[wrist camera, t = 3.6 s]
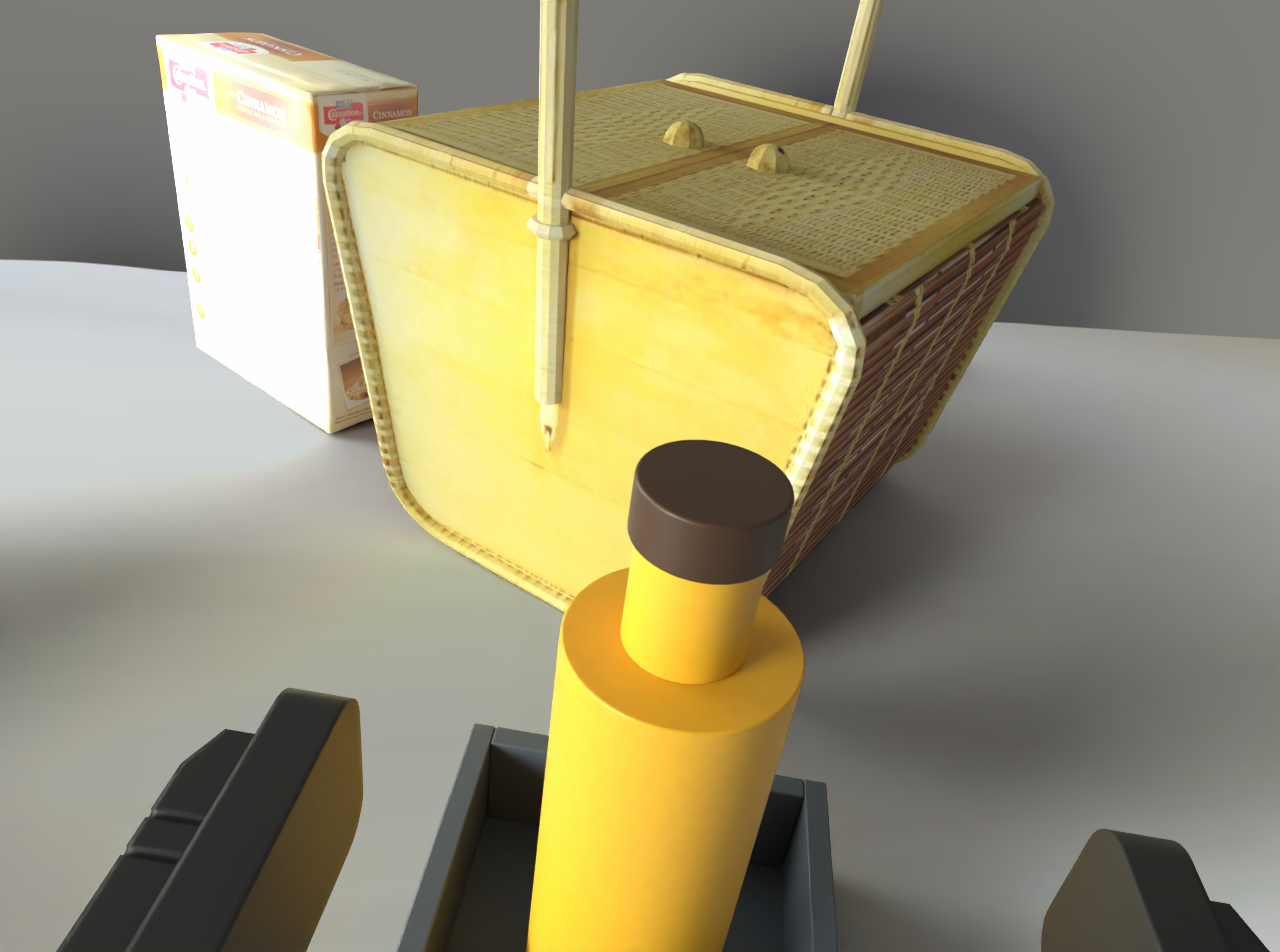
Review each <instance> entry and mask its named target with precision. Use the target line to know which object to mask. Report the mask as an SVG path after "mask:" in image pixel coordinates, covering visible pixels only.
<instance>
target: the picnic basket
mask: <svg viewBox="0 0 1280 952" xmlns="http://www.w3.org/2000/svg"><path fill="white" fill-rule="evenodd" d="M883 3H884V0H861V1H860V5H859V9H858V13H857V17H856V21H855V25H854V29H853V33H852V37H851V41H850V45H849V49H848V53H847V56H846V61H845V64H844V68H843V73H842V76H841V80H840V84H839V88H838V93H837V96H836V100H835V104H834V106H830V105H826V104H821V103H818V102H814V101H810V100H805V99H802V98H798V97H793V96H790V95H786V94H781V93H778V92H773V91H769V90H765V89H762V88H757V87H754V86H749V85H746V84H742V83H737V82H733V81H729V80H725V79H721V78H717V77H713V76H709V75H705V74H696V73H694V74H693V73H681V74H679V75H676V76H674V77H672V78H669V79H667V80H663V79H662V80H655V81H649V82H642V83H636V84H629V85H622V86H616V87H609V88H602V89H596V90H589V91H583V92H576V93H575V90H576V89H575V88H576V62H577V34H578V7H579V0H541V8H540V72H539V98H536V99H530V100H523V101H517V102H510V103H503V104H497V105H491V106H484V107H478V108H470V109H464V110H457V111H451V112H444V113H438V114H431V115H424V116H418V117H411V118H404V119H398V120H391V121H385V122H378V123H366V122H355V121H352V122H350V123H348V124H347V125H345V126H343V127H341V128H339V129H338V130H336V131H334V132H333V133H332V134H331V135H330V136H329V138H328V141H327V143H326V145H325V148H324V150H323V152H322V155H321V156H322V179H323V184H324V189H325V194H326V198H327V203H328V208H329V212H330V217H331V222H332V227H333V231H334V236H335V241H336V245H337V250H338V255H339V260H340V264H341V269H342V274H343V278H344V283H345V288H346V293H347V297H348V302H349V307H350V311H351V316H352V321H353V326H354V330H355V335H356V340H357V344H358V349H359V354H360V359H361V363H362V368H363V373H364V377H365V382H366V387H367V392H368V396H369V401H370V406H371V410H372V415H373V420H374V425H375V429H376V434H377V439H378V443H379V448H380V453H381V458H382V462H383V467H384V470H385V473H386V475H387V478H388V480H389V483H390V486H391V488H392V490H393V491H394V493H395V495H396V496H397V498H398V499H399V501H400V502H401V504H402V505H403V507H404V508H405V510H406V511H407V512H408V513H409V514H410V515H411V516H412V517H413V518H414V519H415V520H416V521H417V523H418V524H419V525H420V526H421V527H422V528H423V529H424V530H425V531H427V532H428V533H429V534H431V535H432V536H434V537H435V538H436V539H438V540H439V541H441V542H442V543H443V544H445V545H446V546H448V547H450V548H452V549H453V550H455V551H457V552H459V553H460V554H462V555H464V556H466V557H467V558H469V559H471V560H473V561H475V562H476V563H478V564H480V565H482V566H483V567H485V568H487V569H489V570H490V571H492V572H494V573H496V574H497V575H499V576H501V577H503V578H505V579H506V580H508V581H510V582H512V583H513V584H515V585H517V586H519V587H520V588H522V589H524V590H526V591H527V592H529V593H531V594H533V595H535V596H536V597H538V598H540V599H542V600H543V601H545V602H547V603H549V604H550V605H552V606H554V607H556V608H557V609H559V610H561V611H563V612H566V610H567V608H568V606H569V605H570V603H571V601H572V600H573V599H574V598H575V597H576V595H577V594H578V593H579V592H580V591H581V590H583V589H584V588H585V587H586V586H587V585H589V584H590V583H592V582H593V581H595V580H596V579H598V578H600V577H602V576H604V575H606V574H608V573H611V572H614V571H617V570H620V569H624V568H628V567H630V563H631V556H632V550H633V544H632V542H631V540H630V537H629V534H628V529H627V521H628V514H629V507H630V500H631V494H632V487H633V480H634V473H635V469H636V465H637V464H638V462H639V460H640V459H641V458H642V457H643V456H644V455H645V454H646V453H647V452H648V451H650V450H651V449H653V448H655V447H657V446H659V445H662V444H665V443H669V442H673V441H679V440H694V439H699V440H712V441H719V442H724V443H729V444H733V445H736V446H739V447H743V448H745V449H748V450H750V451H753V452H755V453H757V454H759V455H761V456H763V457H765V458H766V459H768V460H770V461H771V462H772V463H774V464H775V465H776V466H778V467H779V468H780V469H781V470H782V471H783V472H784V473H785V474H786V476H787V477H788V479H789V480H790V482H791V484H792V487H793V491H794V505H793V509H792V512H791V516H790V520H789V524H788V528H787V532H786V536H785V540H784V544H783V548H782V551H781V555H780V558H779V559H778V561H777V563H776V564H775V565H774V566H773V567H772V568H771V569H770V570H769V571H768V572H767V573H766V577H765V581H764V585H763V589H762V593H761V594H762V595H763V596H764V597H766V598H767V597H768V596H769V595H770V594H771V593H772V592H773V591H774V590H775V589H776V588H777V587H778V586H779V585H780V584H781V583H782V582H783V581H784V580H785V578H786V577H787V576H788V575H789V574H790V573H791V572H792V571H793V570H794V569H795V568H796V567H797V566H798V565H799V564H800V563H801V562H802V561H803V559H804V558H805V557H806V556H807V555H808V554H809V553H810V552H811V551H812V550H813V549H814V548H815V547H816V546H817V545H818V544H819V543H820V542H821V541H822V539H823V538H824V537H825V536H826V535H827V534H828V533H829V532H830V531H831V530H832V529H833V528H834V527H835V526H836V525H837V524H838V523H839V522H840V520H841V519H842V518H843V517H844V516H845V515H846V514H847V513H848V512H849V511H850V510H851V509H852V508H853V507H854V506H855V505H856V504H857V503H858V501H859V500H860V499H861V498H862V497H863V496H864V495H865V494H866V493H867V492H868V491H869V490H870V489H871V488H872V487H873V486H874V485H875V484H876V483H877V481H878V480H879V479H880V478H881V477H882V476H883V475H884V474H885V473H886V472H887V471H888V470H889V469H890V468H891V467H892V466H893V465H894V464H896V463H898V462H901V461H904V460H906V459H909V458H911V457H912V456H913V455H914V454H915V453H916V452H917V451H918V450H919V449H920V448H921V447H922V446H923V444H924V442H925V441H926V439H927V437H928V436H929V434H930V432H931V430H932V429H933V427H934V425H935V423H936V422H937V420H938V418H939V416H940V415H941V413H942V411H943V409H944V408H945V406H946V404H947V402H948V401H949V399H950V397H951V395H952V394H953V392H954V390H955V388H956V387H957V385H958V383H959V381H960V380H961V378H962V376H963V374H964V373H965V371H966V369H967V367H968V366H969V364H970V362H971V360H972V359H973V357H974V355H975V353H976V352H977V350H978V348H979V346H980V345H981V343H982V341H983V339H984V338H985V336H986V334H987V332H988V331H989V329H990V327H991V325H992V324H993V322H994V320H995V318H996V317H997V315H998V313H999V311H1000V310H1001V308H1002V306H1003V304H1004V303H1005V301H1006V299H1007V298H1008V296H1009V294H1010V292H1011V291H1012V289H1013V287H1014V285H1015V283H1016V282H1017V280H1018V278H1019V276H1020V275H1021V273H1022V271H1023V270H1024V268H1025V266H1026V264H1027V263H1028V261H1029V259H1030V257H1031V256H1032V254H1033V252H1034V250H1035V248H1036V247H1037V245H1038V243H1039V241H1040V240H1041V238H1042V236H1043V235H1044V233H1045V231H1046V229H1047V227H1048V226H1049V223H1050V219H1051V216H1052V212H1053V208H1054V204H1055V201H1054V198H1053V194H1052V190H1051V186H1050V183H1049V180H1048V179H1047V178H1046V176H1045V175H1044V174H1043V173H1042V172H1041V171H1040V170H1039V169H1038V168H1037V167H1036V166H1035V165H1034V164H1033V163H1032V162H1031V161H1030V160H1028V159H1026V158H1024V157H1021V156H1019V155H1017V154H1014V153H1012V152H1010V151H1008V150H1006V149H1002V148H998V147H993V146H990V145H985V144H982V143H978V142H974V141H969V140H966V139H962V138H958V137H954V136H950V135H946V134H941V133H937V132H933V131H930V130H926V129H922V128H918V127H913V126H910V125H906V124H902V123H898V122H894V121H890V120H886V119H882V118H878V117H874V116H870V115H866V114H862V113H858V112H855V109H856V106H857V102H858V98H859V94H860V91H861V86H862V83H863V79H864V75H865V72H866V68H867V64H868V60H869V56H870V53H871V48H872V45H873V41H874V37H875V34H876V30H877V26H878V22H879V18H880V15H881V11H882V7H883Z"/></svg>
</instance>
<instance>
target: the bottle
mask: <svg viewBox="0 0 1280 952" xmlns="http://www.w3.org/2000/svg"><path fill="white" fill-rule="evenodd" d="M793 505H794V491H793V487H792V484H791V482H790V480H789V479H788V477H787V476H786V474H785V473H784V472H783V471H782V470H781V469H780V468H779V467H778V466H776V465H775V464H774V463H772V462H771V461H770V460H768V459H766V458H765V457H763V456H761V455H759V454H757V453H755V452H753V451H750V450H748V449H745V448H743V447H739V446H736V445H733V444H729V443H724V442H719V441H712V440H699V439H694V440H679V441H673V442H669V443H665V444H662V445H659V446H657V447H655V448H653V449H651V450H650V451H648V452H647V453H646V454H645V455H644V456H643V457H642V458H641V459H640V460H639V462H638V464H637V465H636V469H635V473H634V480H633V487H632V494H631V500H630V507H629V514H628V521H627V529H628V534H629V537H630V540H631V542H632V544H633V550H632V556H631V563H630V567H628V568H624V569H620V570H617V571H614V572H611V573H608V574H606V575H604V576H602V577H600V578H598V579H596V580H595V581H593V582H592V583H590V584H589V585H587V586H586V587H585V588H584V589H583V590H581V591H580V592H579V593H578V594H577V595H576V597H575V598H574V599H573V600H572V601H571V603H570V605H569V606H568V608H567V610H566V612H565V614H564V617H563V620H562V623H561V629H560V637H559V647H558V656H557V666H556V675H555V684H554V694H553V703H552V713H551V722H550V732H549V741H548V751H547V760H546V769H545V779H544V788H543V798H542V807H541V817H540V826H539V835H538V845H537V854H536V864H535V873H534V883H533V892H532V901H531V911H530V920H529V930H528V939H527V949H526V952H722V951H723V947H724V944H725V940H726V937H727V934H728V930H729V927H730V924H731V920H732V917H733V914H734V910H735V907H736V904H737V900H738V897H739V894H740V890H741V887H742V884H743V880H744V877H745V873H746V870H747V867H748V863H749V860H750V857H751V853H752V850H753V847H754V843H755V840H756V837H757V833H758V830H759V827H760V823H761V820H762V817H763V813H764V810H765V806H766V803H767V800H768V796H769V793H770V790H771V786H772V783H773V780H774V776H775V773H776V770H777V766H778V763H779V760H780V756H781V753H782V750H783V746H784V743H785V739H786V736H787V733H788V729H789V726H790V723H791V719H792V716H793V713H794V709H795V706H796V703H797V699H798V696H799V693H800V689H801V686H802V682H803V678H804V673H805V659H804V653H803V648H802V645H801V642H800V639H799V637H798V635H797V633H796V631H795V629H794V627H793V626H792V624H791V623H790V622H789V620H788V619H787V617H786V616H785V615H784V614H783V613H782V612H781V611H780V610H779V609H778V608H777V607H776V606H775V605H774V604H773V603H772V602H771V601H769V600H768V599H767V598H766V597H764V596H763V595H762V594H761V593H762V589H763V585H764V581H765V577H766V573H767V572H768V571H769V570H770V569H771V568H772V567H773V566H774V565H775V564H776V563H777V561H778V559H779V558H780V555H781V551H782V548H783V544H784V540H785V536H786V532H787V528H788V524H789V520H790V516H791V512H792V509H793Z"/></svg>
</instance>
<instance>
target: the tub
mask: <svg viewBox="0 0 1280 952" xmlns="http://www.w3.org/2000/svg"><path fill="white" fill-rule="evenodd" d="M548 741H549V736H547V735H541V734H535V733H529V732H523V731H517V730H512V729H506V728H500V727H497V728H496V729H495V727H494V726H488V725H482V724H474V725H473V728H472V731H471V734H470V736H469V739H468V742H467V745H466V748H465V751H464V754H463V757H462V760H461V763H460V766H459V769H458V772H457V774H456V777H455V780H454V783H453V786H452V789H451V792H450V795H449V798H448V801H447V804H446V807H445V809H444V812H443V815H442V818H441V821H440V824H439V827H438V830H437V833H436V836H435V839H434V842H433V845H432V847H431V850H430V853H429V856H428V859H427V862H426V865H425V868H424V871H423V874H422V877H421V880H420V882H419V885H418V888H417V891H416V894H415V897H414V900H413V903H412V906H411V909H410V912H409V915H408V917H407V920H406V923H405V926H404V929H403V932H402V935H401V938H400V941H399V944H398V947H397V950H396V952H526V949H527V939H528V930H529V920H530V911H531V901H532V892H533V883H534V873H535V864H536V854H537V845H538V835H539V826H540V817H541V807H542V798H543V788H544V779H545V769H546V760H547V751H548ZM722 952H838V941H837V927H836V914H835V900H834V886H833V872H832V858H831V844H830V831H829V817H828V803H827V789H826V784H825V783H821V782H815V781H809V780H804V782H803V780H802V779H797V778H791V777H785V776H780V775H775V776H774V780H773V783H772V786H771V790H770V793H769V796H768V800H767V803H766V806H765V810H764V813H763V817H762V820H761V823H760V827H759V830H758V833H757V837H756V840H755V843H754V847H753V850H752V853H751V857H750V860H749V863H748V867H747V870H746V873H745V877H744V880H743V884H742V887H741V890H740V894H739V897H738V900H737V904H736V907H735V910H734V914H733V917H732V920H731V924H730V927H729V930H728V934H727V937H726V940H725V944H724V947H723V951H722Z"/></svg>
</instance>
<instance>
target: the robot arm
mask: <svg viewBox="0 0 1280 952" xmlns="http://www.w3.org/2000/svg"><path fill="white" fill-rule="evenodd" d="M362 800H363V773H362V752H361V731H360V711H359V705H358V702H357V700H356V699H353V698H347V697H341V696H335V695H330V694H324V693H318V692H312V691H306V690H300V689H294V688H287V689H285V690H284V691H282V692H281V693H280V695H279V696H278V697H277V698H276V700H275V701H274V703H273V705H272V706H271V708H270V710H269V711H268V713H267V715H266V716H265V718H264V720H263V721H262V723H261V725H260V726H259V728H258V730H257V732H256V733H255V734H251V733H245V732H240V731H234V730H228V729H225V730H223V731H222V732H221V733H219V734H218V735H217V736H216V737H214V738H213V739H212V740H210V741H209V742H208V743H207V744H205V745H204V746H203V747H202V748H200V749H199V750H198V751H196V752H195V753H194V754H193V755H191V756H190V757H189V758H188V759H186V760H185V761H184V762H182V763H181V764H180V766H179V767H178V769H177V770H176V772H175V773H174V775H173V776H172V778H171V779H170V781H169V782H168V784H167V785H166V787H165V788H164V790H163V791H162V793H161V794H160V796H159V797H158V799H157V800H156V802H155V803H154V805H153V806H152V808H151V814H150V816H149V817H145V819H144V820H143V822H142V823H141V825H140V826H139V828H138V829H137V831H136V832H135V834H134V835H133V837H132V838H131V840H130V841H129V843H128V844H127V849H126V852H125V854H124V855H120V856H119V858H118V859H117V861H116V862H115V864H114V865H113V867H112V868H111V870H110V871H109V873H108V874H107V876H106V877H105V879H104V880H103V882H102V883H101V885H100V886H99V888H98V890H97V891H96V893H95V894H94V896H93V897H92V899H91V900H90V902H89V903H88V905H87V906H86V908H85V909H84V911H83V912H82V914H81V915H80V917H79V918H78V920H77V921H76V923H75V924H74V926H73V927H72V929H71V930H70V932H69V933H68V935H67V936H66V938H65V939H64V941H63V942H62V944H61V945H60V947H59V948H58V950H57V951H56V952H306V951H307V948H308V946H309V944H310V941H311V939H312V937H313V934H314V932H315V929H316V927H317V925H318V922H319V920H320V918H321V915H322V913H323V911H324V908H325V906H326V904H327V901H328V899H329V897H330V894H331V892H332V890H333V887H334V885H335V883H336V880H337V878H338V876H339V873H340V871H341V869H342V866H343V864H344V862H345V859H346V857H347V855H348V852H349V850H350V847H351V845H352V842H353V839H354V836H355V833H356V829H357V826H358V822H359V817H360V813H361V807H362ZM1041 952H1270V951H1269V950H1268V949H1267V948H1266V947H1265V946H1264V944H1263V943H1262V942H1261V941H1260V940H1259V938H1258V937H1257V936H1256V935H1255V934H1254V932H1253V931H1252V930H1251V929H1250V928H1249V927H1248V925H1247V924H1246V923H1245V922H1244V921H1243V919H1242V918H1241V917H1240V916H1239V915H1238V913H1237V912H1236V911H1235V910H1234V909H1233V908H1232V906H1231V905H1230V904H1226V903H1220V902H1214V901H1210V900H1209V897H1208V895H1207V893H1206V891H1205V888H1204V886H1203V884H1202V882H1201V879H1200V877H1199V875H1198V873H1197V871H1196V868H1195V866H1194V864H1193V862H1192V860H1191V858H1190V856H1189V854H1188V853H1187V851H1186V850H1185V849H1184V848H1183V847H1182V846H1181V845H1180V844H1179V843H1177V842H1176V841H1172V840H1167V839H1161V838H1155V837H1149V836H1143V835H1137V834H1131V833H1126V832H1120V831H1114V830H1108V829H1099V830H1097V831H1096V832H1095V833H1094V834H1092V836H1091V837H1090V839H1089V840H1088V842H1087V844H1086V845H1085V847H1084V849H1083V850H1082V852H1081V854H1080V856H1079V857H1078V859H1077V861H1076V862H1075V864H1074V866H1073V868H1072V869H1071V871H1070V873H1069V874H1068V876H1067V878H1066V879H1065V881H1064V883H1063V885H1062V886H1061V888H1060V890H1059V891H1058V893H1057V895H1056V897H1055V898H1054V900H1053V902H1052V903H1051V905H1050V907H1049V909H1048V911H1047V913H1046V916H1045V919H1044V923H1043V929H1042V938H1041Z"/></svg>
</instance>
